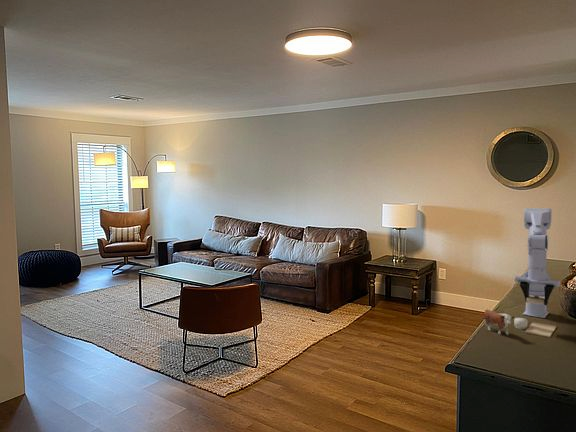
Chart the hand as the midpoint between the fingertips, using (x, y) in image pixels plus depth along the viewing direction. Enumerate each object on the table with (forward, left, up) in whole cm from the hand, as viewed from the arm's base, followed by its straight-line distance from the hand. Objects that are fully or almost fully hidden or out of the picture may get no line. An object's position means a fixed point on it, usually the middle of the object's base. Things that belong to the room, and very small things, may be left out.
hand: (536, 303), depth 162 cm
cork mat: (0, +2, -10) cm, 10 cm away
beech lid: (0, 0, +1) cm, 1 cm away
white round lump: (+1, -5, -10) cm, 11 cm away
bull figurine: (+12, -10, -10) cm, 18 cm away
